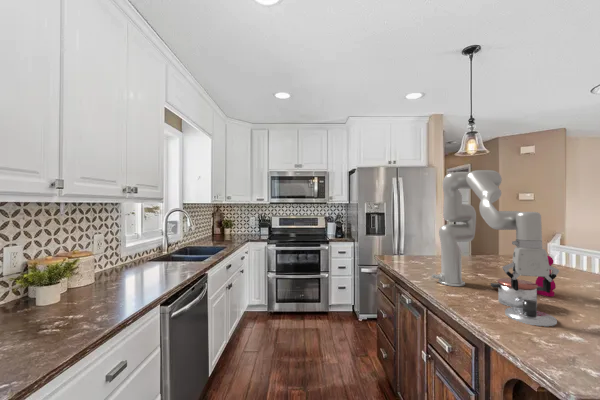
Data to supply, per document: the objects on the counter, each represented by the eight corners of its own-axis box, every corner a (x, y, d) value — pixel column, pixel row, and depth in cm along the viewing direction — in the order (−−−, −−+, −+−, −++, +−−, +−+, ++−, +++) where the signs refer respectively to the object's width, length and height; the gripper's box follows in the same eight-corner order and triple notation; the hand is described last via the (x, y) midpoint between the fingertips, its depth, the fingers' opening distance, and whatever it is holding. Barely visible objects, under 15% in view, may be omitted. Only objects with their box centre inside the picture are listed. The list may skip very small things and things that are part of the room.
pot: (497, 307, 116) (497, 285, 116) (486, 296, 129) (486, 277, 129) (552, 312, 110) (552, 289, 110) (535, 300, 123) (534, 280, 123)
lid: (514, 324, 100) (514, 306, 100) (498, 309, 114) (498, 293, 114) (566, 330, 95) (566, 311, 95) (543, 313, 110) (543, 296, 110)
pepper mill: (550, 292, 134) (550, 250, 134) (559, 297, 127) (558, 253, 127) (532, 291, 136) (531, 250, 136) (539, 296, 129) (539, 252, 129)
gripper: (506, 245, 104) (507, 291, 103) (563, 246, 99) (565, 295, 98) (498, 242, 111) (499, 286, 111) (551, 244, 106) (553, 289, 105)
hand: (530, 290), depth 104 cm, fingers open, 9 cm apart
